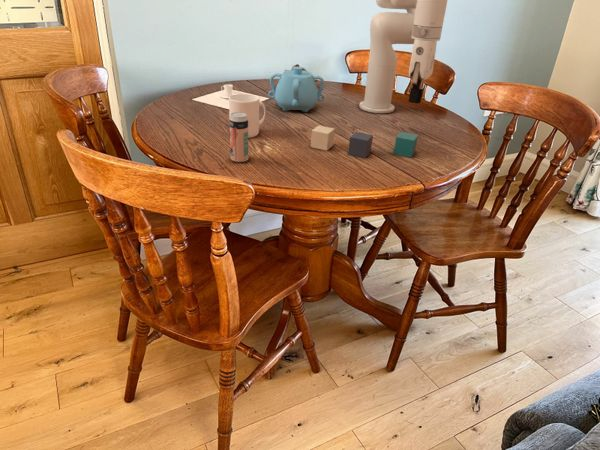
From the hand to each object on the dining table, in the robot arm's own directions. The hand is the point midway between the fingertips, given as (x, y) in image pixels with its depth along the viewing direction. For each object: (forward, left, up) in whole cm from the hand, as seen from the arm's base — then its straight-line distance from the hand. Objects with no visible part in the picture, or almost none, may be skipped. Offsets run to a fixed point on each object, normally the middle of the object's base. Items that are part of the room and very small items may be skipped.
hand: (414, 102), depth 131 cm
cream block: (+16, -21, -12) cm, 29 cm away
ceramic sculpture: (-41, -55, -12) cm, 70 cm away
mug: (+17, -44, -12) cm, 49 cm away
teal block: (+8, +1, -12) cm, 15 cm away
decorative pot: (-14, -43, -12) cm, 47 cm away
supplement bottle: (+36, -36, -12) cm, 53 cm away
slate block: (+15, -10, -12) cm, 22 cm away
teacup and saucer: (-10, -67, -12) cm, 69 cm away
